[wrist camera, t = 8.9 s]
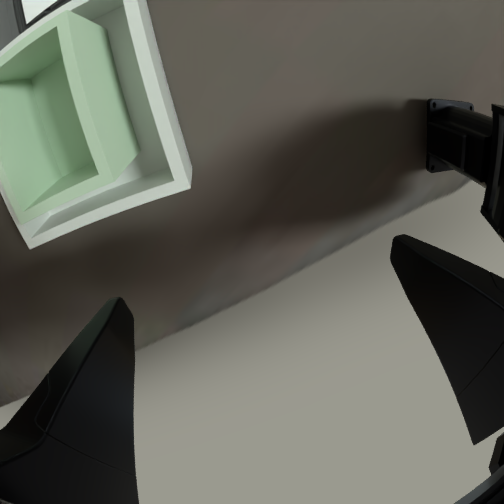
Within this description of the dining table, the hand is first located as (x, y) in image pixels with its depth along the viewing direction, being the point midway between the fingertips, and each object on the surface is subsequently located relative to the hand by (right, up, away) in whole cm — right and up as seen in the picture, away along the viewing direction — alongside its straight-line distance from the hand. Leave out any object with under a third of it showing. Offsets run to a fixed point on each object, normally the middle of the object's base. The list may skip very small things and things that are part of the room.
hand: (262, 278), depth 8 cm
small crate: (-11, +10, +5) cm, 16 cm away
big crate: (-12, +10, +5) cm, 16 cm away
